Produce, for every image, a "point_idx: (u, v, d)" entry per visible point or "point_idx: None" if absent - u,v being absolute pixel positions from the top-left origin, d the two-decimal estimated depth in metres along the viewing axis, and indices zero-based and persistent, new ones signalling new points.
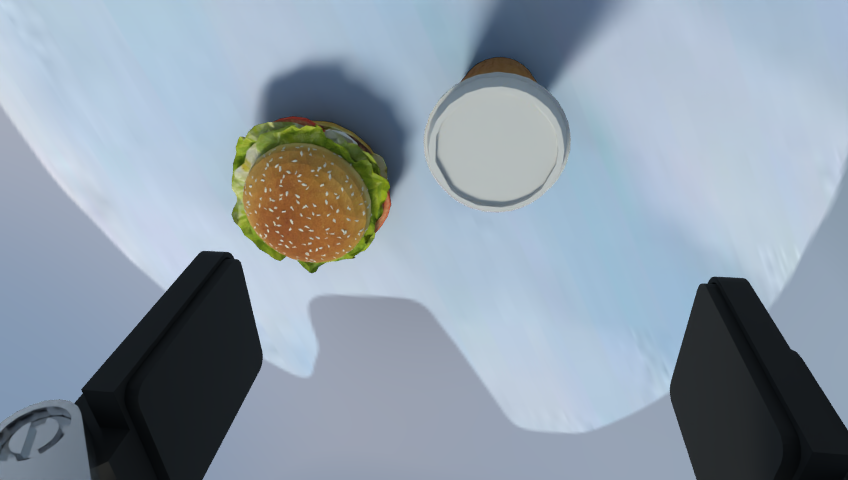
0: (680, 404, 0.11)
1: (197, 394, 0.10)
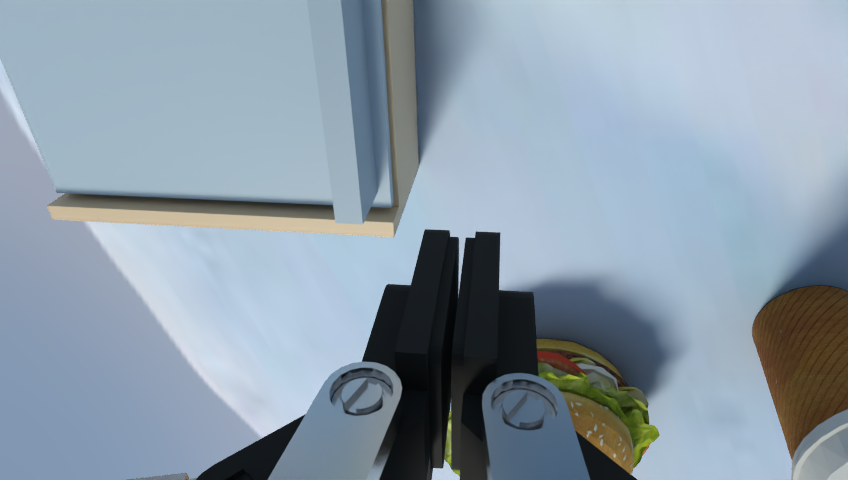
0: None
1: (448, 363, 0.10)
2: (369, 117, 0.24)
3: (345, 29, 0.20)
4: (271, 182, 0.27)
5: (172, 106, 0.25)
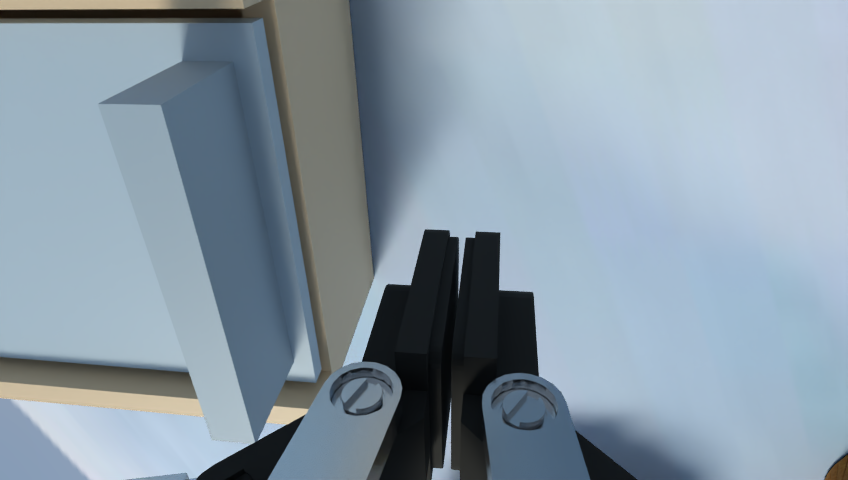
0: None
1: (448, 363, 0.10)
2: (267, 267, 0.15)
3: (184, 161, 0.11)
4: (134, 343, 0.17)
5: None
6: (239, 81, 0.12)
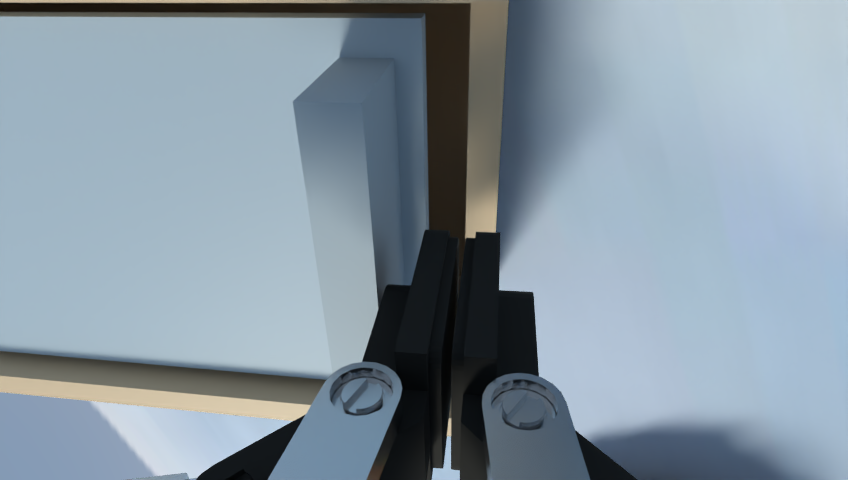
0: None
1: (448, 363, 0.10)
2: (401, 271, 0.14)
3: (369, 162, 0.10)
4: (241, 347, 0.17)
5: (78, 238, 0.16)
6: (397, 79, 0.12)
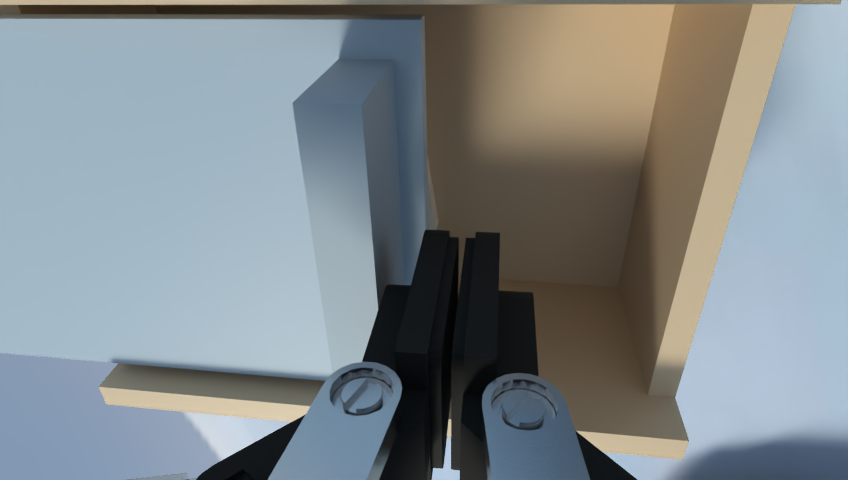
0: None
1: (448, 363, 0.10)
2: (400, 272, 0.14)
3: (369, 163, 0.10)
4: (241, 348, 0.17)
5: (78, 240, 0.16)
6: (397, 80, 0.12)
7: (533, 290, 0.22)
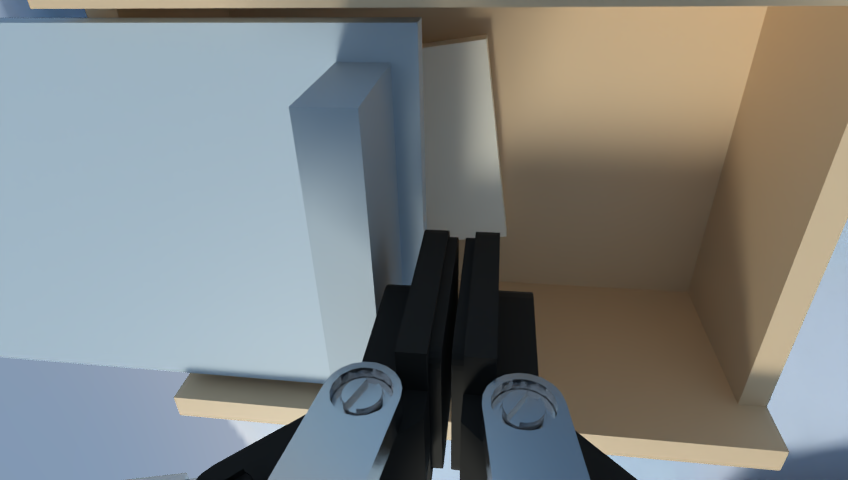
0: None
1: (448, 363, 0.10)
2: (399, 275, 0.14)
3: (366, 167, 0.10)
4: (240, 352, 0.17)
5: (76, 243, 0.16)
6: (394, 83, 0.12)
7: (602, 296, 0.21)
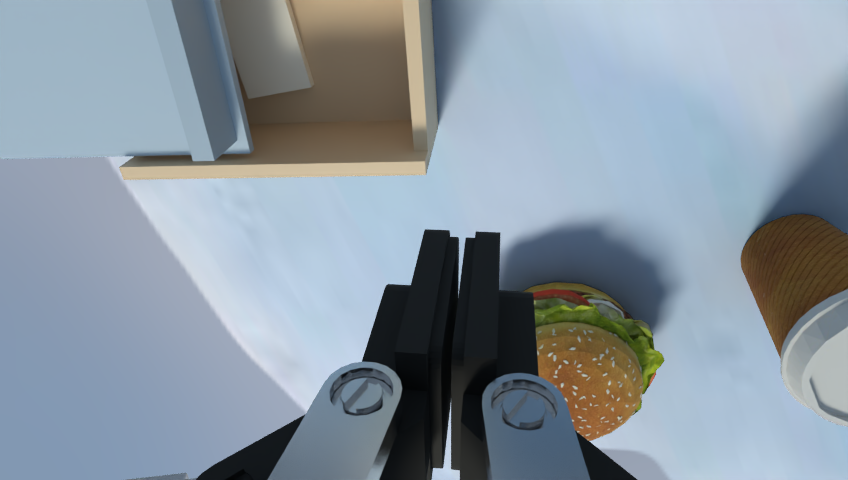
0: None
1: (448, 363, 0.10)
2: (217, 75, 0.29)
3: None
4: (151, 137, 0.32)
5: (61, 76, 0.31)
6: None
7: (373, 123, 0.36)
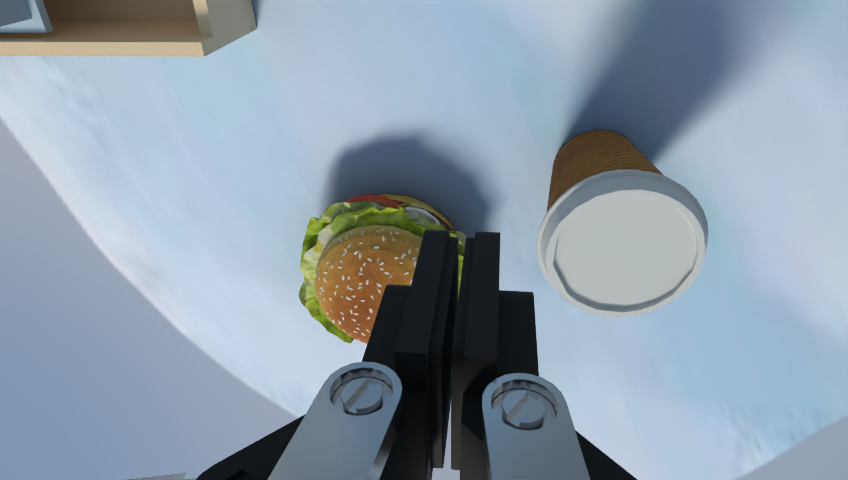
0: None
1: (448, 362, 0.10)
2: None
3: None
4: None
5: None
6: None
7: (189, 20, 0.38)
